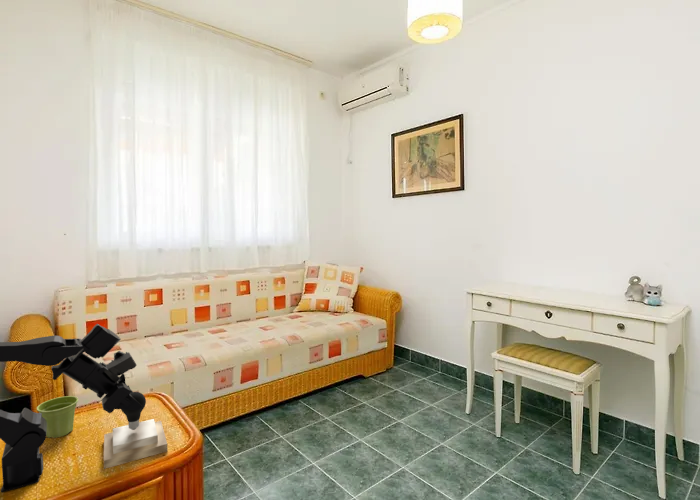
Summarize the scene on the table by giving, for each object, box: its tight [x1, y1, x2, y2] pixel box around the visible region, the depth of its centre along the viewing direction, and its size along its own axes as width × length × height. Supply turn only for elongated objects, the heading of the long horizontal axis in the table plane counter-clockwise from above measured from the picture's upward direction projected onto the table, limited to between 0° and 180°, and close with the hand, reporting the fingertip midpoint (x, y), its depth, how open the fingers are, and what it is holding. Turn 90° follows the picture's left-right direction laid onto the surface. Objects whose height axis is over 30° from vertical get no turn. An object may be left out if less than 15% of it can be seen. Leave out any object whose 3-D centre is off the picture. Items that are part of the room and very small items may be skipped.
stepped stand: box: [103, 418, 168, 470], centre depth 103 cm, size 14×14×4 cm
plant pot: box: [36, 395, 79, 439], centre depth 110 cm, size 9×9×9 cm
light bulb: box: [120, 391, 147, 430], centre depth 103 cm, size 6×6×10 cm
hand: (139, 403), depth 103 cm, fingers closed on light bulb, 6 cm apart
